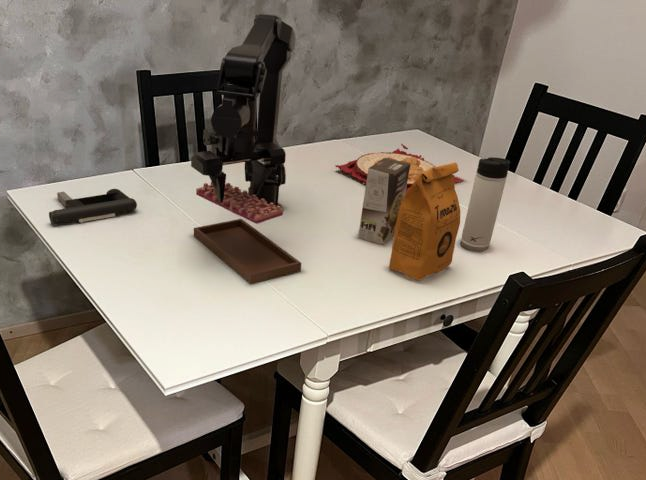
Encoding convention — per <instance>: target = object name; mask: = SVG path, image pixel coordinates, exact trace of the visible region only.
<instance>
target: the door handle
mask: <svg viewBox="0 0 646 480" xmlns="http://www.w3.org/2000/svg"><path fill="white" fill-rule="evenodd" d="M56 195H57V196H56V197H57V200H58V201H59V202H60V203H61V204H62V205H63V206H64V207H65V208H59V209H54V210H53V211H49V212H48V218H49V221H50V223H51V224H55V225H59V224H66V223H71V222H77V221H78V223H80V224H82V223H83V222H89V221H90V222H91V221H96V220H101V219H102V220H103V219H107V218H113V217H116V215H118V214H125V213H131V212H133V211H135V210H137V208H138V207H137V206H138V203H137V201H136V200H135V199H134V198H133V197H132V198H131V197H129V196H128V195H127V194H125V193H124V192H123V191H122V190H120V189H118V188H111V189H109V190H107V191H106V193H105V194H97V195H91V196H84V197H79V198H71V196H69V195H68V193H66V192H65V191H58V192H56Z"/></svg>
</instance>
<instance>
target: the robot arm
mask: <svg viewBox="0 0 646 480" xmlns="http://www.w3.org/2000/svg"><path fill="white" fill-rule="evenodd" d="M295 46H296V33H295V30H294V28H293V27H292V26H291V25H290V24H288V23H286V22H285V21H283V20H282V17H281V16H279V15H277V14H269V13H258V14H255V16H254V19H253V25H251V28H250V30H249V31H248V33H247V35H246V36H245V37H244V40H243V42H242V44H241V45H237V46H234V47H232V48H230V49H229V50H228V52H227V53H226V54H225V56H224V57H223V58H222V59H221V63H220V68H219V74H218V77H217V83H216V87H215V95H218V96H219V95H220V96H222V97H223V98H222V100H221V104H220V105H219V106H217V107H216V108H215V109H214V110H213V112H212V114H211V116H210V123H211V128H210V127H209V128H204V129H203V133H202V140H203V145H204V146H211V149H212V150H217V149H218V151H219V152H221V153H224V154H220V155H217V154H215V153H214V152H213V151H211V150H205V151H197V152H194V153H193V154H192V156H191V158H190V162H191V163H190V166H191V168H193V169H194V170H195V171H197V173H200V174H201V175H202V176H207V177H209V179H210V182H211V181H212V184H213V187H214V190H215V193H216V195H217V198H218V201H219V202H220V203H223V199H224V191H225V184H226V183H227V182H226V180H227V174H226V173H225V172H224V171H223V168H224V167H223V166H227V165H235V164H241V163H244V179H245V180H244V181H245V182H249V187H248V189H247V193H249V194H250V196H252V195H253V194H254V195H256V197H258V200H260V199H262V198H263V199H265V201H267V204H269V203H274V205H275V206H281V208H283V207H282V206H283V205H282V204H280V203H279V197H280V196H279V194H280V187H281V186H282V185H286V183H287V182H286V181H287V172H286V171H287V170H286V167H285V163H286V160H287V159H286V157H287V154H286V151H285V149H284V148H283V147H281V146H280V144H279V142H278V140H277V135H278V133H277V132H278V123H279V111H280V102H281V101H280V100H281V91H282V90H281V89H282V80H283V79H282V77H283V71H284V69H285V68H286V66H287V65H288V63H289V62H290V60H291V59H292V53H293V52H294V50H295ZM258 97H259V98H258ZM257 102H258V113H257ZM256 121H257V125H256Z"/></svg>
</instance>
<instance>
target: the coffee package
mask: <svg viewBox="0 0 646 480" xmlns="http://www.w3.org/2000/svg"><path fill="white" fill-rule="evenodd" d="M458 165H459V164H458V163H457V162H451V163H447V164H442V165H438V166H435V167H432V168H430V169H429V170H427V171H425V172H423V173H421V174H420V175H419V177H418V178H417V180H416V181H415V182H414V183H413V184H412V186H411V187H410V188H409V189H408V190H407V192H406V194H405V195H404V197H403V200H402V202H401V206H400V209H399V213H398V217H397V222H396V226H395V232H394V236H393V239H392V246H391V254H390V259H389V265H388V268H389V269H390V270H391V271H395V272H400V273H402V274H404V275H405V276H407V277H408V278H410V279H415V280H418V281H421V280H423V279H424V278H427V277H429V276H431V275H434V274H437V273H439V272H441V271H443V270H445V269H447V268H448V267H449V266H450V265H451V264H452V262H453V256H454V251H455V246H456V240H457V237H458V234H459V229H460V226H461V205H460V201H459V197H458V194H457V191H456V188H455V187H456V186H455V185H456V183H455V182H454V177H453V175H454V174H456V173H458V172H459V171H460V170H459V167H458Z"/></svg>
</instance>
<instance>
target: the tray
mask: <svg viewBox="0 0 646 480" xmlns="http://www.w3.org/2000/svg"><path fill="white" fill-rule="evenodd" d="M193 237H194V239H196V240H197V241H198V242H200V243H201V244H202V245H203V246H204V247H206V248H207V249H208V250H209V251H210V252H212V253H213V254H214V255H215V256H216V257H218V258H219V259H220V260H221V261H223V262H224V263H225V264H226V265H227V266H228V267H230V268H231V269H232V270H233V271H234V272H236V273H237V274H238V275H239V276H240V277H242V278H243V279H244V280H245V281H246V282H247V283H249V284H250V285H251V284H256V283H260V282H264V281H268V280H273V279H276V278H280V277H285V276H288V275H293V274H297V273H301V270H302V262H301V261H299V260H298V259H297V258H296V257H294V256H293V255H292V254H290V253H289V252H287V251H286V250H285V249H283V248H282V247H281V246H280V245H278V244H276V243H275V242H274V241H273V240H271V239H270V238H269V237H267V236H266V235H264V234H263V233H261V232H260V231H259V230H257V229H256V228H255V227H254V226H252V225H251V224H249V222H246V221H245V220H244V219H243V218H237V219H232V220H227V221H221V222H217V223H212V224H207V225H201V226H196V227H193Z"/></svg>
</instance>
